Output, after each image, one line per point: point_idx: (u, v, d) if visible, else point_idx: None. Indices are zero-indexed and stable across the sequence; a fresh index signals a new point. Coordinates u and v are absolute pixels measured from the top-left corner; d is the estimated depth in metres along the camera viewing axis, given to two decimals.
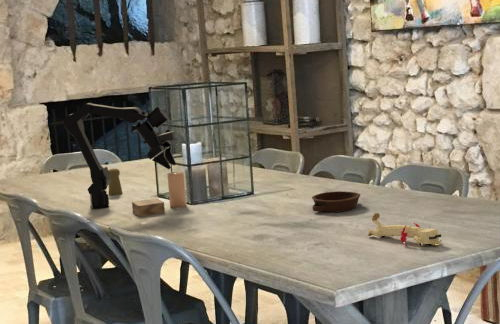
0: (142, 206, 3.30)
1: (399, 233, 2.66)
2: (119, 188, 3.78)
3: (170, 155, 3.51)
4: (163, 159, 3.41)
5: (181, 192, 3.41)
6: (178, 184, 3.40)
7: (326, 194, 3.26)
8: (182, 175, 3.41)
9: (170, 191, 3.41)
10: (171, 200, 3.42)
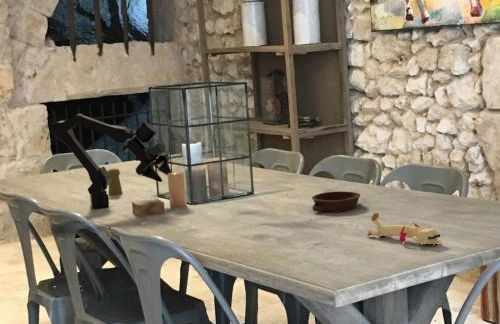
0: (142, 206, 3.30)
1: (398, 233, 2.66)
2: (119, 188, 3.78)
3: (167, 168, 3.49)
4: (153, 173, 3.39)
5: (181, 192, 3.41)
6: (178, 184, 3.40)
7: (326, 194, 3.26)
8: (182, 175, 3.41)
9: (170, 191, 3.41)
10: (171, 200, 3.42)
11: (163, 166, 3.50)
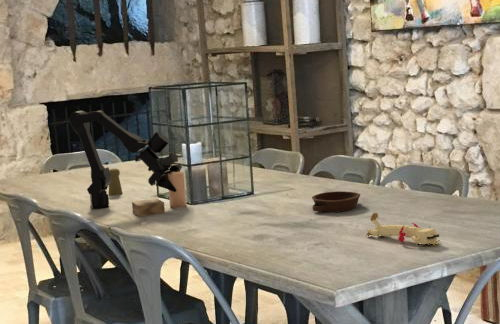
0: (142, 206, 3.30)
1: (397, 233, 2.66)
2: (119, 188, 3.78)
3: None
4: (167, 183, 3.39)
5: (181, 192, 3.41)
6: (178, 184, 3.40)
7: (326, 194, 3.26)
8: (182, 175, 3.41)
9: (170, 191, 3.41)
10: (171, 200, 3.42)
11: None
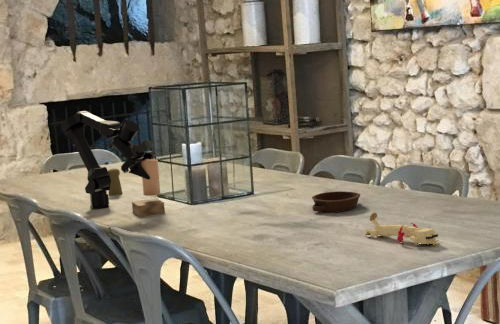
0: (142, 206, 3.30)
1: (396, 233, 2.67)
2: (119, 188, 3.78)
3: None
4: (140, 170, 3.31)
5: (155, 180, 3.33)
6: (151, 172, 3.32)
7: (326, 194, 3.26)
8: (156, 162, 3.33)
9: (144, 179, 3.33)
10: (145, 188, 3.34)
11: None
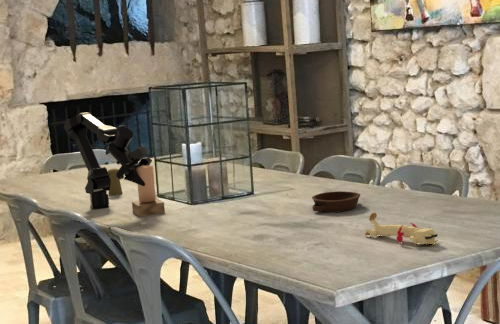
0: (142, 206, 3.30)
1: (396, 233, 2.67)
2: (119, 188, 3.78)
3: None
4: (135, 176, 3.30)
5: (150, 186, 3.32)
6: (147, 178, 3.31)
7: (326, 194, 3.26)
8: (151, 169, 3.32)
9: (139, 185, 3.32)
10: (140, 194, 3.33)
11: None
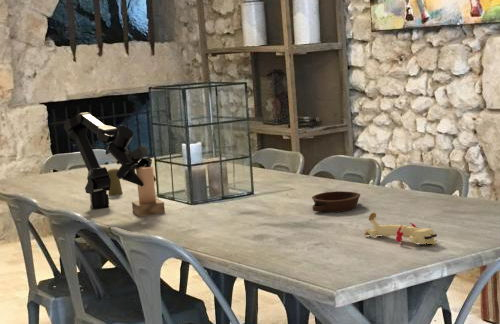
0: (142, 206, 3.30)
1: (395, 233, 2.67)
2: (119, 188, 3.78)
3: None
4: (134, 177, 3.29)
5: (150, 188, 3.32)
6: (146, 180, 3.31)
7: (326, 194, 3.26)
8: (151, 170, 3.32)
9: (139, 187, 3.32)
10: (140, 196, 3.33)
11: None
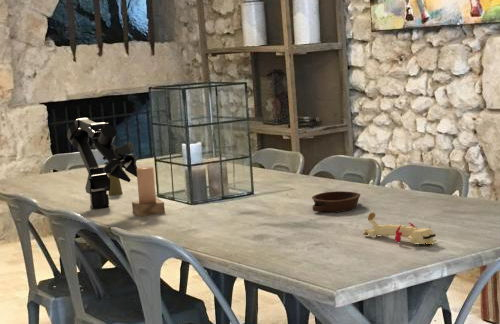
0: (142, 206, 3.30)
1: (394, 233, 2.67)
2: (119, 188, 3.78)
3: (134, 168, 3.42)
4: (121, 172, 3.32)
5: (150, 188, 3.32)
6: (147, 180, 3.31)
7: (326, 194, 3.26)
8: (151, 170, 3.32)
9: (139, 186, 3.32)
10: (140, 196, 3.33)
11: (130, 166, 3.43)
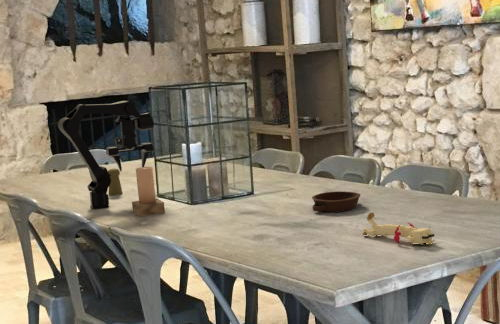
0: (142, 206, 3.30)
1: (393, 232, 2.67)
2: (119, 188, 3.78)
3: None
4: None
5: (149, 188, 3.32)
6: (146, 180, 3.31)
7: (326, 194, 3.26)
8: (150, 170, 3.32)
9: (138, 187, 3.32)
10: (140, 196, 3.33)
11: None
